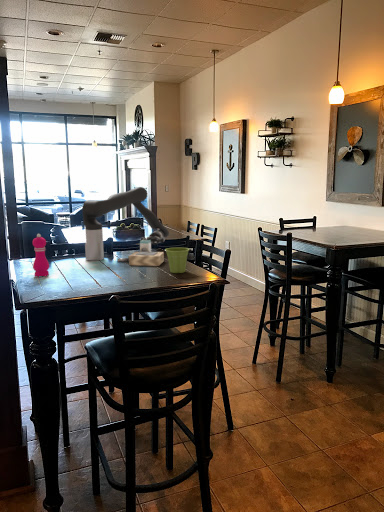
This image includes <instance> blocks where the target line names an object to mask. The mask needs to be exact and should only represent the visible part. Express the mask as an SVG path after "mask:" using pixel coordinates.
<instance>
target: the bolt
mask: <svg viewBox="0 0 384 512" xmlns="http://www.w3.org/2000/svg"><path fill="white" fill-rule="evenodd" d="M129 256H130V255H128V257H123V258H117V263H129Z"/></svg>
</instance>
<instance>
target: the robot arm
mask: <svg viewBox="0 0 384 512" xmlns="http://www.w3.org/2000/svg"><path fill="white" fill-rule="evenodd" d="M146 199H148V191H147V190H146V188H144V187H141V186H138V187H135V188H132V189H130V190H128V191H122V192H117V193H114V194H111V195H110V196H109V197H108V198H107V199H103V200H102V199H101V200H91V199H90V200H85V201H84V202H83V204H82V219H83V224H84V226H85V227H84V229H85V243H84V249H85V251H84V252H85V261H102V260H104V259H105V258H104V237H103V236H104V235H103V224H102V223H100V222H99V221H98V220H97V218H100V217H103V216H105V215H106V214H108V213H111V212H115V211H117V210H121V209H123V208H126V207H128V206H130V205H133V207H135V209H136V210H137V211H138V212H139V213H140V214H141V215H142V217H144V219H145V221H146V222H147V224H148V225H149V228H151V230H155V231H153V232H151V233H150V234H149V235H148V236H146V237H145V236H141V238H140V241H141V240H151V245H158V244H159V243H164V242H165V238H168V237H169V235H170V232H169V229H168V228H167V227H166V226H165V225H164V224H162V223H161V222H160V220H159V219H158V216H157V215H156V214H155V213H154V212H153V210H151V209H149V208H148V207H146V206H145V205H144V204H143V203H142V202H145V201H146Z"/></svg>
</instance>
